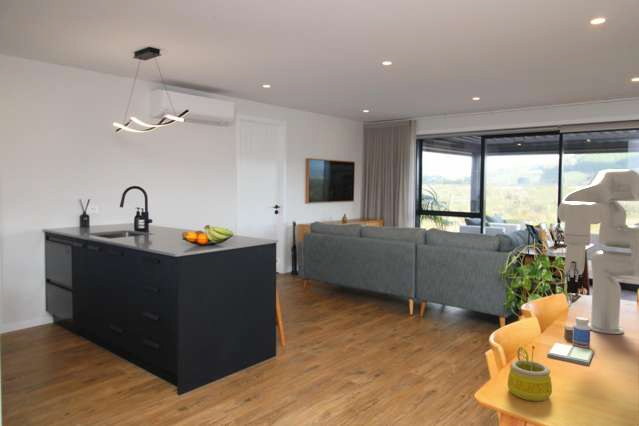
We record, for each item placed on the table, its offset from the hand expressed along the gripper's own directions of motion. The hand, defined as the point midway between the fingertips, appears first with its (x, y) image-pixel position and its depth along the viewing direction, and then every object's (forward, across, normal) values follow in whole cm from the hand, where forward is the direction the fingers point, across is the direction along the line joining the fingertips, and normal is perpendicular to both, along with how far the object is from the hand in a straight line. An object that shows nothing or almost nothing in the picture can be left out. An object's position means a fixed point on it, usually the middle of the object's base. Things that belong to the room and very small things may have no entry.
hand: (574, 290), depth 154 cm
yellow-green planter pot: (+22, +41, -5) cm, 47 cm away
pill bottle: (+22, -12, +1) cm, 25 cm away
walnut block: (+22, -18, -3) cm, 28 cm away
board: (+22, +1, 0) cm, 22 cm away
